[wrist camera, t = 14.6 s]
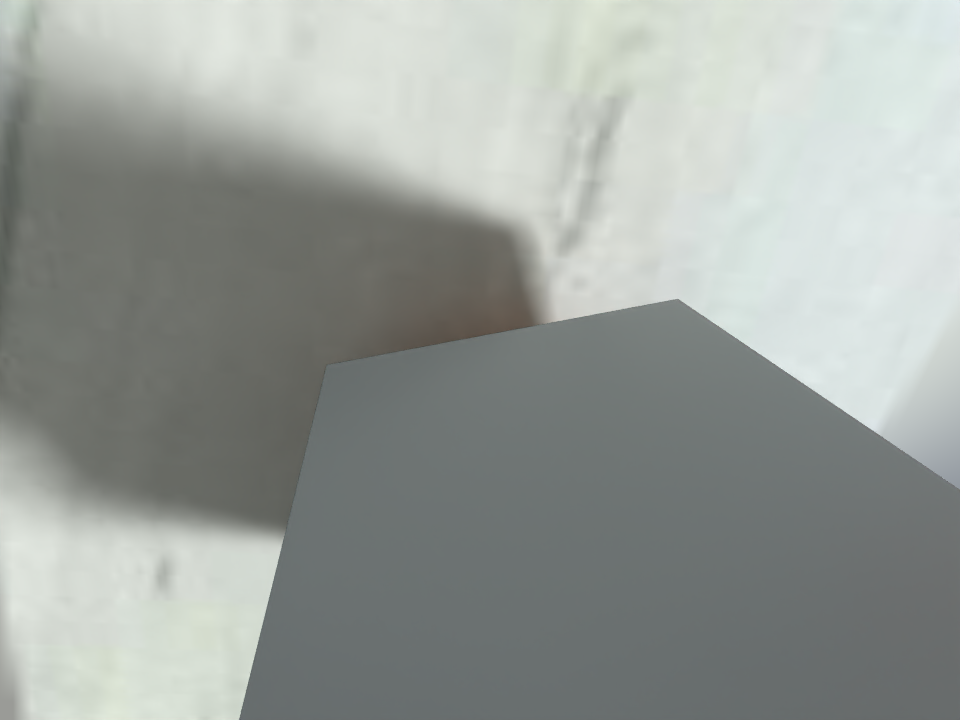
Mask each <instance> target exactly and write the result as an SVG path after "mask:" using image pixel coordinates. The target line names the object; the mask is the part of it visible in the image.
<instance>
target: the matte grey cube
mask: <svg viewBox="0 0 960 720" xmlns="http://www.w3.org/2000/svg"><path fill="white" fill-rule="evenodd" d="M239 720H960V490H959V489H958V488H957V487H955V486H954V485H952V484H950V483H949V482H948V481H946V480H945V479H943V478H942V477H940V476H939V475H937V474H936V473H934V472H933V471H931V470H930V469H929V468H927V467H926V466H924V465H923V464H921V463H920V462H918V461H917V460H915V459H914V458H912V457H911V456H909V455H908V454H906V453H905V452H903V451H902V450H900V449H899V448H897V447H896V446H895V445H893V444H892V443H890V442H889V441H887V440H886V439H884V438H883V437H881V436H880V435H878V434H877V433H875V432H874V431H872V430H871V429H869V428H868V427H866V426H865V425H863V424H862V423H860V422H859V421H858V420H856V419H855V418H853V417H852V416H850V415H849V414H847V413H846V412H844V411H843V410H841V409H840V408H838V407H837V406H835V405H834V404H832V403H831V402H829V401H828V400H826V399H825V398H824V397H822V396H821V395H819V394H818V393H816V392H815V391H813V390H812V389H810V388H809V387H807V386H806V385H804V384H803V383H801V382H800V381H798V380H797V379H795V378H794V377H792V376H791V375H790V374H788V373H787V372H785V371H784V370H782V369H781V368H779V367H778V366H776V365H775V364H773V363H772V362H770V361H769V360H767V359H766V358H764V357H763V356H761V355H760V354H758V353H757V352H756V351H754V350H753V349H751V348H750V347H748V346H747V345H745V344H744V343H742V342H741V341H739V340H738V339H736V338H735V337H733V336H732V335H730V334H729V333H727V332H726V331H724V330H723V329H722V328H720V327H719V326H717V325H716V324H714V323H713V322H711V321H710V320H708V319H707V318H705V317H704V316H702V315H701V314H699V313H698V312H696V311H695V310H693V309H692V308H690V307H689V306H687V305H686V304H685V303H683V302H682V301H680V300H679V299H675V300H670V301H664V302H659V303H654V304H648V305H643V306H638V307H632V308H627V309H622V310H616V311H611V312H606V313H600V314H595V315H590V316H584V317H579V318H574V319H568V320H563V321H558V322H552V323H547V324H542V325H536V326H531V327H526V328H521V329H515V330H510V331H505V332H499V333H494V334H489V335H483V336H478V337H473V338H467V339H462V340H457V341H451V342H446V343H441V344H435V345H430V346H425V347H419V348H414V349H409V350H403V351H398V352H393V353H387V354H382V355H377V356H371V357H366V358H361V359H356V360H350V361H345V362H340V363H334V364H329V365H327V366H326V370H325V374H324V378H323V382H322V386H321V390H320V395H319V399H318V403H317V407H316V411H315V415H314V419H313V423H312V427H311V431H310V435H309V439H308V443H307V447H306V451H305V455H304V459H303V463H302V467H301V471H300V475H299V480H298V484H297V488H296V492H295V496H294V500H293V504H292V508H291V512H290V516H289V520H288V524H287V528H286V532H285V536H284V540H283V544H282V548H281V552H280V556H279V560H278V565H277V569H276V573H275V577H274V581H273V585H272V589H271V593H270V597H269V601H268V605H267V609H266V613H265V617H264V621H263V625H262V629H261V633H260V637H259V641H258V645H257V649H256V654H255V658H254V662H253V666H252V670H251V674H250V678H249V682H248V686H247V690H246V694H245V698H244V702H243V706H242V710H241V714H240V718H239Z"/></svg>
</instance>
